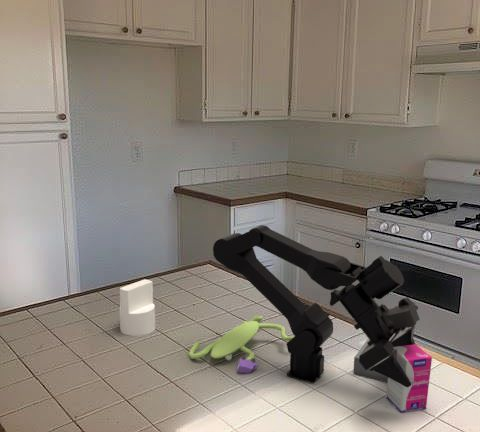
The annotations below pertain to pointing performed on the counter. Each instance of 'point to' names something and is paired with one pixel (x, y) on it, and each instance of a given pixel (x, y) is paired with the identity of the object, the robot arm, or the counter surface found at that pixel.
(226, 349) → the figurine
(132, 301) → the base with upright slab
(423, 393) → the supplement box
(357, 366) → the bin
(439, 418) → the counter surface
